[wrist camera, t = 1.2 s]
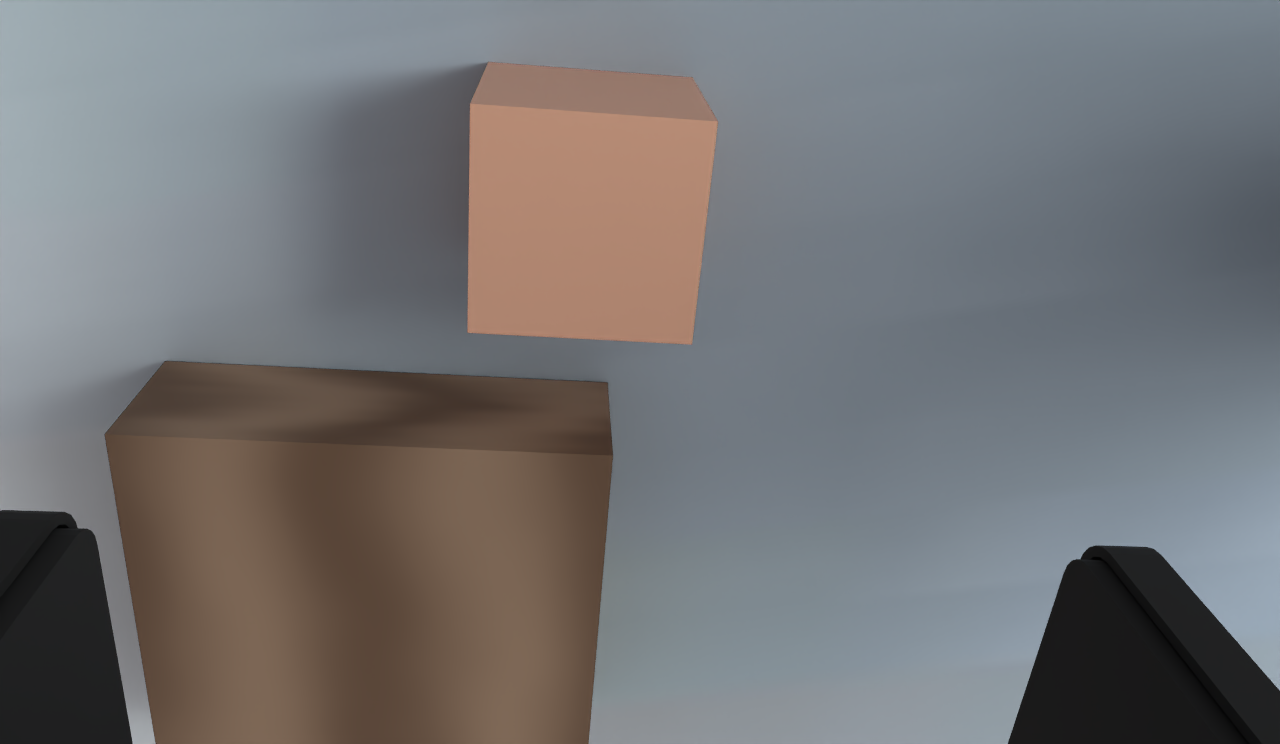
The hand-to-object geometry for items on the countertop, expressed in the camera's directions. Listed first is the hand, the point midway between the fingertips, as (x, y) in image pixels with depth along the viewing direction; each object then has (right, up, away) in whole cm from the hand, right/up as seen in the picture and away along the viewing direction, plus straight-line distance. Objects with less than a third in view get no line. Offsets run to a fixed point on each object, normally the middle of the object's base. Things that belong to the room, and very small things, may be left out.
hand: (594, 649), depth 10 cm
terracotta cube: (-1, +8, +16) cm, 18 cm away
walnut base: (-7, -3, +21) cm, 22 cm away
